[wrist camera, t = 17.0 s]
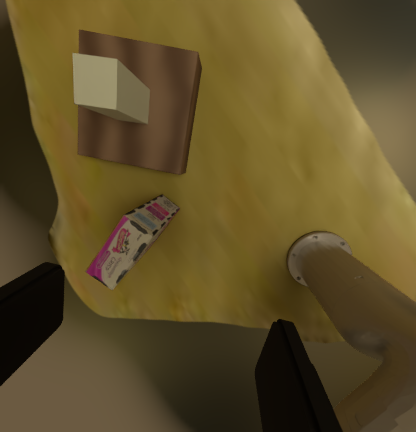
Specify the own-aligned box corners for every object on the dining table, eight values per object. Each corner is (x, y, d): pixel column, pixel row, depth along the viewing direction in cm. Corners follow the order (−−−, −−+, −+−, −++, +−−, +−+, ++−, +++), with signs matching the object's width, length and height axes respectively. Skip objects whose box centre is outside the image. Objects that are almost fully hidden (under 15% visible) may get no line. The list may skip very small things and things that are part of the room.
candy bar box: (161, 192, 41) (123, 212, 26) (180, 207, 42) (155, 236, 26) (132, 232, 44) (82, 272, 28) (151, 246, 45) (112, 292, 29)
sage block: (149, 89, 32) (117, 59, 22) (147, 124, 33) (116, 109, 23) (118, 85, 32) (72, 53, 22) (118, 119, 33) (74, 103, 23)
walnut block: (202, 69, 36) (198, 51, 30) (186, 172, 40) (180, 174, 35) (102, 50, 36) (79, 29, 30) (98, 155, 41) (77, 154, 35)
